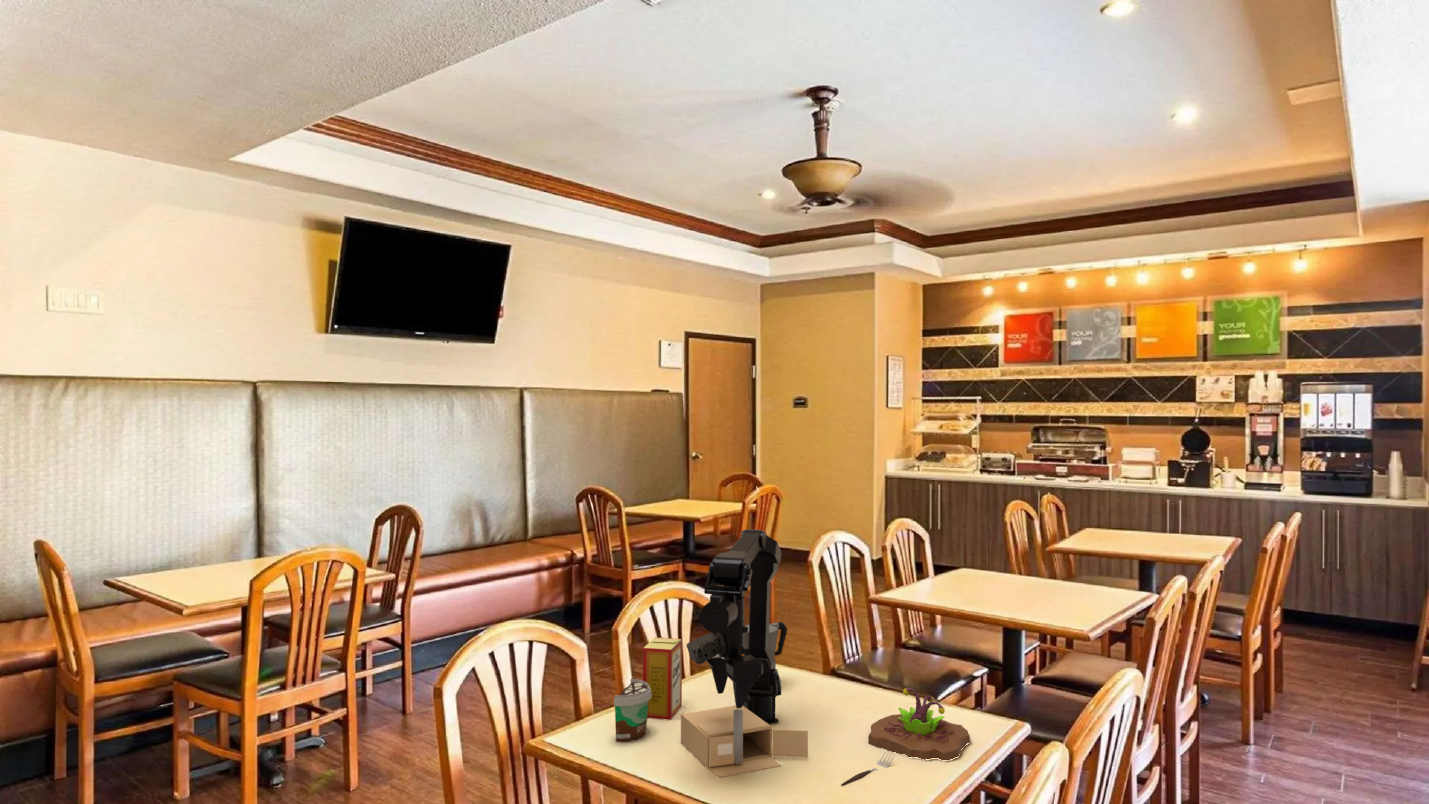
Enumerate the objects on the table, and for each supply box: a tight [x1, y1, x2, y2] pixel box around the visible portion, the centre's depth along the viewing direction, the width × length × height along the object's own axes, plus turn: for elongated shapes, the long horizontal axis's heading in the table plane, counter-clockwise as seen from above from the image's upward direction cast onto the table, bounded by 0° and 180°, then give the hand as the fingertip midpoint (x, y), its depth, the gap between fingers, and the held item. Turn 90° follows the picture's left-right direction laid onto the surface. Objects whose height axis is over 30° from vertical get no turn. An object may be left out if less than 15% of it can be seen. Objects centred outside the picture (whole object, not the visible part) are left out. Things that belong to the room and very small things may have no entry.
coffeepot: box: [744, 621, 788, 657], centre depth 211 cm, size 15×9×18 cm, turn 126°
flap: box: [709, 709, 743, 767], centre depth 163 cm, size 7×2×10 cm, turn 108°
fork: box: [840, 751, 896, 787], centre depth 161 cm, size 3×16×2 cm, turn 135°
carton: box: [680, 705, 809, 778], centre depth 171 cm, size 20×19×6 cm
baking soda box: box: [642, 636, 683, 721], centre depth 194 cm, size 10×6×16 cm
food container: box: [613, 678, 652, 743], centre depth 180 cm, size 12×6×10 cm, turn 168°
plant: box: [867, 687, 971, 760], centre depth 177 cm, size 20×20×11 cm
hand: (729, 700), depth 165 cm, fingers open, 9 cm apart
